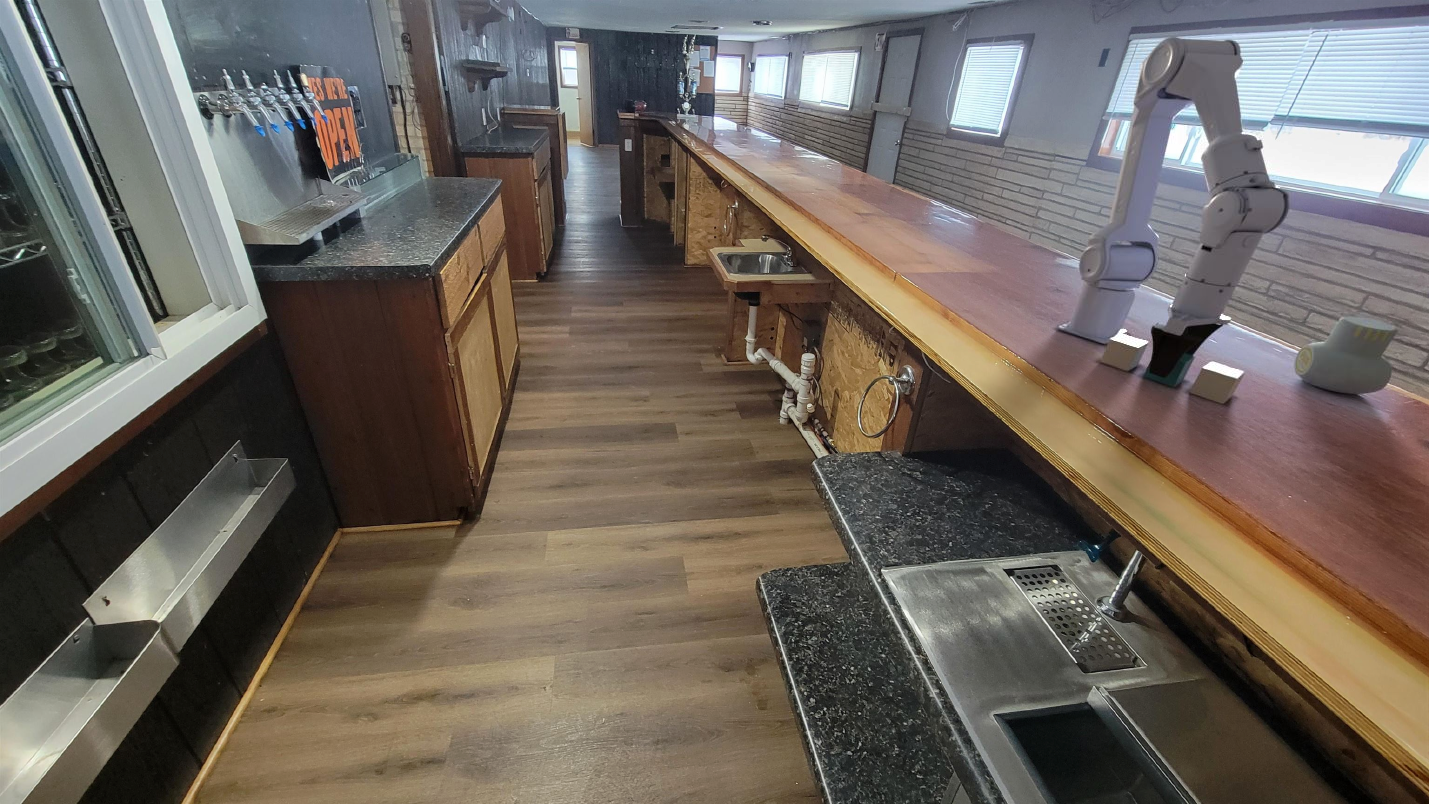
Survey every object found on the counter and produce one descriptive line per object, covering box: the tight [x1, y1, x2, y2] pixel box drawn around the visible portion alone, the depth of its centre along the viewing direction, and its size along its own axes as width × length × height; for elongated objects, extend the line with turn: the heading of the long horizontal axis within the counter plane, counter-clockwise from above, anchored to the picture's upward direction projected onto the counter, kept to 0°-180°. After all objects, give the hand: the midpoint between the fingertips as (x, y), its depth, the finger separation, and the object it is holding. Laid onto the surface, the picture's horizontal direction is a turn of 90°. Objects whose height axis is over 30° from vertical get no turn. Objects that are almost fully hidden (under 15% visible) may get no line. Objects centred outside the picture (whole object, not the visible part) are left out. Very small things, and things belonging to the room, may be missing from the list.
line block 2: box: [1189, 361, 1246, 405], centre depth 80 cm, size 4×4×4 cm
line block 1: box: [1100, 334, 1149, 372], centre depth 88 cm, size 4×4×4 cm
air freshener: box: [1293, 315, 1399, 395], centre depth 82 cm, size 11×8×10 cm
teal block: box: [1142, 353, 1196, 388], centre depth 84 cm, size 4×4×4 cm
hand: (1167, 368), depth 84 cm, fingers open, 7 cm apart
